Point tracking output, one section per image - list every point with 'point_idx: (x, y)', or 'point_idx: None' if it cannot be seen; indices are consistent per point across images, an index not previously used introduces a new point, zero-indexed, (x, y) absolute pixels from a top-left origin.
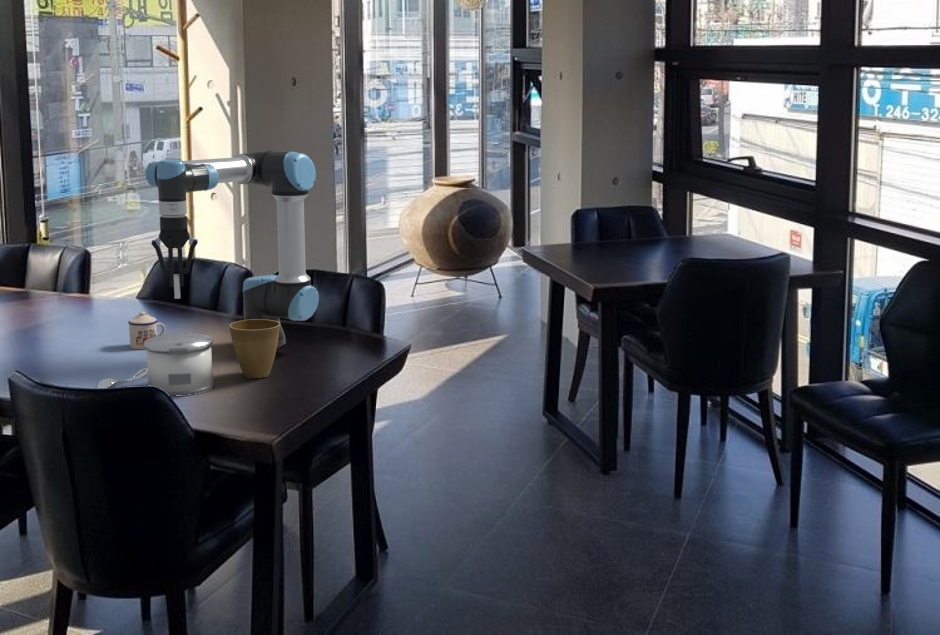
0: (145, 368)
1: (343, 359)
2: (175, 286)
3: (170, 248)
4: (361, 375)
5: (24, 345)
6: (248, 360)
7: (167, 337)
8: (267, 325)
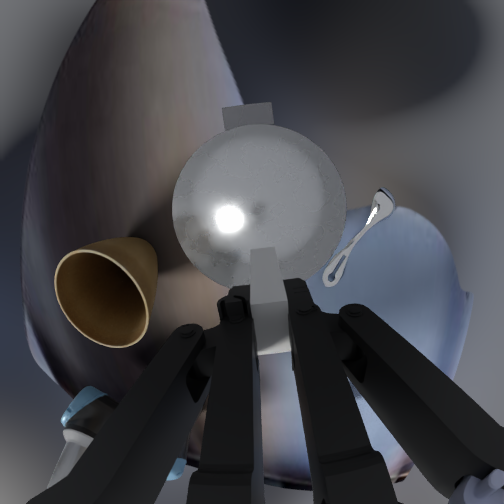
0: (329, 286)
1: (59, 321)
2: (272, 271)
3: (357, 497)
4: (23, 248)
5: None
6: (129, 239)
7: (293, 250)
8: (95, 330)
